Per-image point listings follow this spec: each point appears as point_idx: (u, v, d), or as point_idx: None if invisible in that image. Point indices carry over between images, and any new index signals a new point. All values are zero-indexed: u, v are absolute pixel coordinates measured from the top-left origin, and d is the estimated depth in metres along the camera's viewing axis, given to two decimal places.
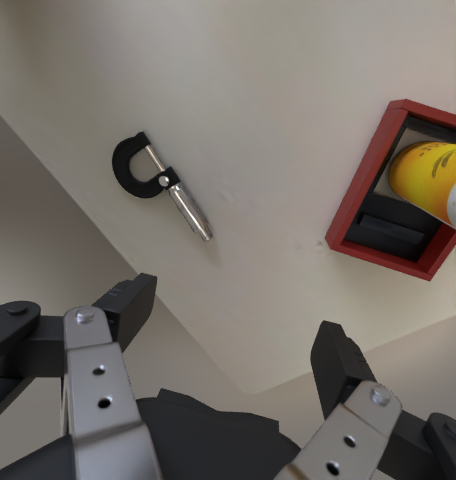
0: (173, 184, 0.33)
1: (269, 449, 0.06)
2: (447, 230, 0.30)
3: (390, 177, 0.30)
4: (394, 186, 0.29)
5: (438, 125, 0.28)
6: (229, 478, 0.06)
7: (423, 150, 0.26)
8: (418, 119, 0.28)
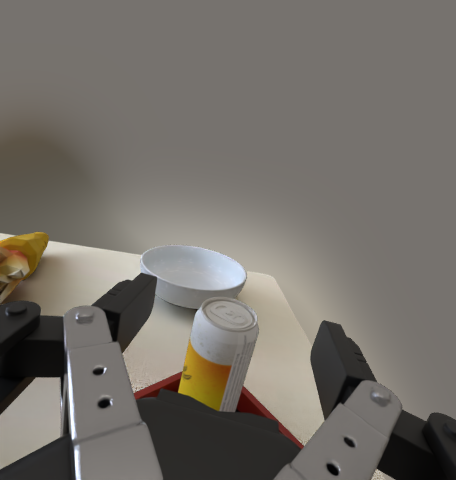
0: None
1: (269, 449, 0.06)
2: None
3: None
4: None
5: None
6: (229, 478, 0.06)
7: None
8: None
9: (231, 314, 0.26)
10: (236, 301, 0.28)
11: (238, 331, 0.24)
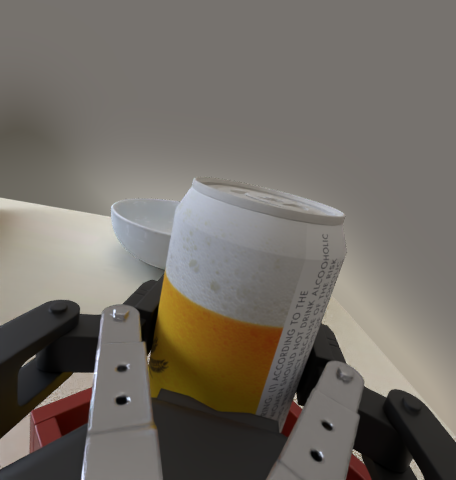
0: None
1: (269, 449, 0.06)
2: None
3: None
4: None
5: None
6: (229, 478, 0.06)
7: None
8: None
9: (273, 200, 0.10)
10: (276, 193, 0.12)
11: (307, 219, 0.08)
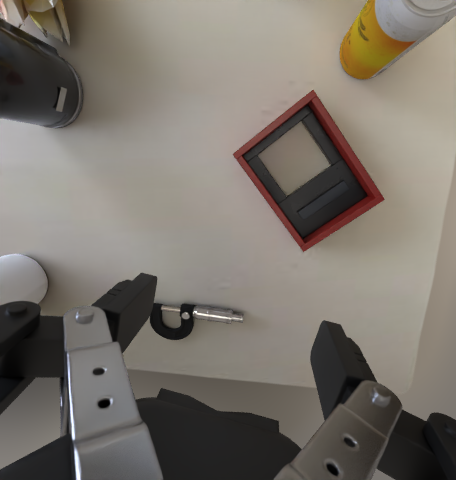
0: (192, 311, 0.43)
1: (269, 449, 0.06)
2: (351, 165, 0.35)
3: (353, 75, 0.33)
4: (362, 75, 0.33)
5: (269, 135, 0.36)
6: (229, 478, 0.06)
7: (347, 40, 0.30)
8: (256, 146, 0.37)
9: None
10: None
11: (439, 15, 0.20)
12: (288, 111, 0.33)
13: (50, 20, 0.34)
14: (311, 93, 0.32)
